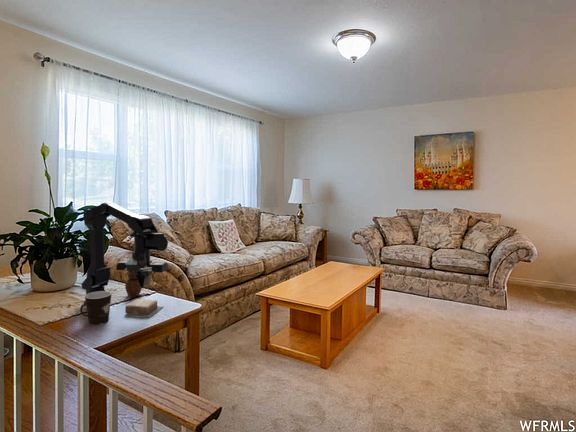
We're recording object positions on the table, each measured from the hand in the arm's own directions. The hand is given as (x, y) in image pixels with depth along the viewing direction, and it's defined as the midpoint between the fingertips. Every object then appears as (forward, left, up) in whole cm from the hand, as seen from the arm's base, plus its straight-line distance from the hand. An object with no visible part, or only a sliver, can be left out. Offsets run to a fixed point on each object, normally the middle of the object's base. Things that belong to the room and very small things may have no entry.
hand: (142, 287), depth 138 cm
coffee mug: (-11, -13, -10) cm, 20 cm away
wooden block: (-5, 0, -8) cm, 9 cm away
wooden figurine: (-14, +18, -10) cm, 25 cm away
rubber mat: (+1, 0, -10) cm, 10 cm away
